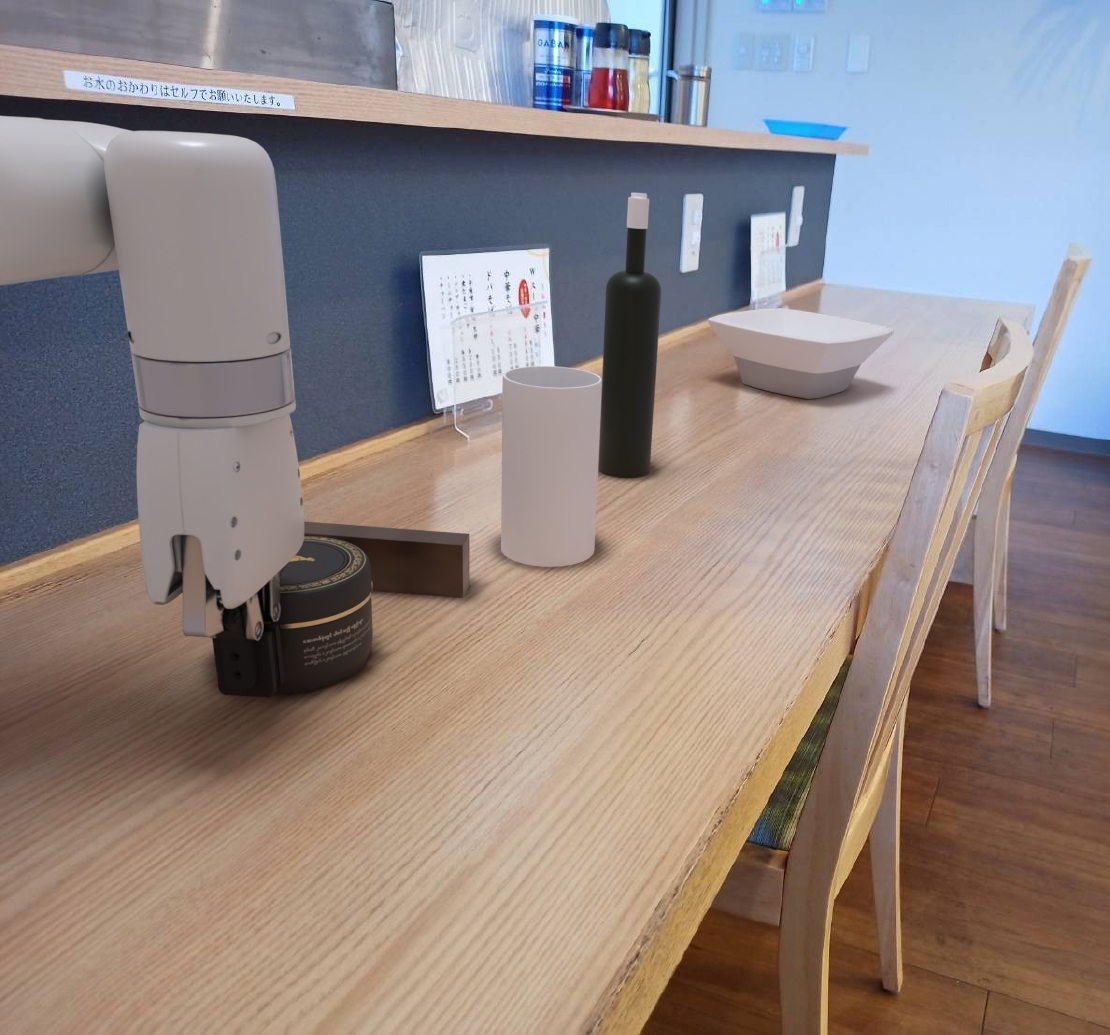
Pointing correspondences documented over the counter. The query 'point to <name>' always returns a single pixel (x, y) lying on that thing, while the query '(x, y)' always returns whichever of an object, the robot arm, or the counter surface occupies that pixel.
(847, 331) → the bowl
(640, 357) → the wine bottle
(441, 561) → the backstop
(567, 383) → the cup
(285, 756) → the counter surface
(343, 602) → the jar
